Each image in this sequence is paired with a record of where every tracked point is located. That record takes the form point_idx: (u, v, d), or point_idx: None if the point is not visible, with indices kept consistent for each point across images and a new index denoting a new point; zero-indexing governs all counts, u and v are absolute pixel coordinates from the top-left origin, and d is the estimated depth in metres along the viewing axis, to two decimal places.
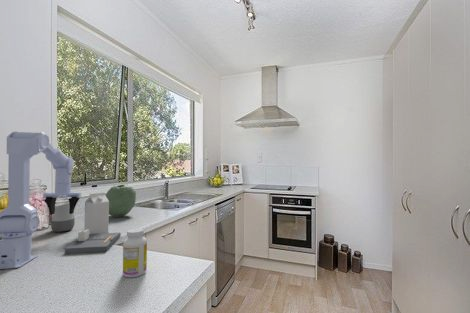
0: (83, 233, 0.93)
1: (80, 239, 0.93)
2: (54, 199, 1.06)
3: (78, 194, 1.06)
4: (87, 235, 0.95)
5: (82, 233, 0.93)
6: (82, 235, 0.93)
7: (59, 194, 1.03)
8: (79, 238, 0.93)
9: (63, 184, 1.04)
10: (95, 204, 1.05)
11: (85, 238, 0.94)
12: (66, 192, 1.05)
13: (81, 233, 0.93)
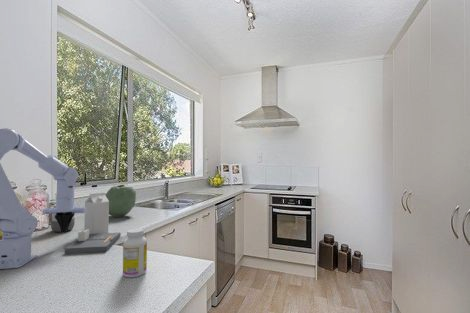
0: (83, 233, 0.93)
1: (80, 239, 0.93)
2: None
3: (83, 209, 0.94)
4: (87, 235, 0.95)
5: (82, 233, 0.93)
6: (82, 235, 0.93)
7: (61, 210, 0.91)
8: (79, 238, 0.93)
9: (65, 198, 0.91)
10: (95, 204, 1.05)
11: (85, 238, 0.94)
12: (69, 207, 0.92)
13: (81, 233, 0.93)
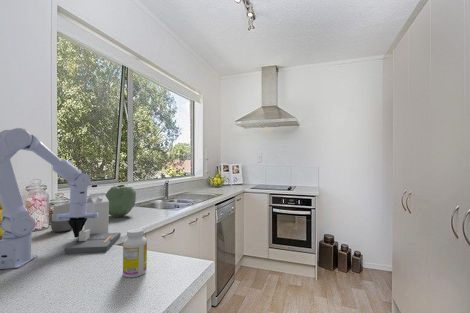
0: (84, 233, 0.93)
1: (81, 239, 0.93)
2: None
3: (95, 215, 0.95)
4: (88, 235, 0.95)
5: (83, 233, 0.93)
6: (83, 235, 0.93)
7: (75, 215, 0.92)
8: (80, 238, 0.93)
9: (78, 204, 0.92)
10: (95, 204, 1.05)
11: (86, 238, 0.94)
12: (82, 213, 0.93)
13: (82, 233, 0.93)
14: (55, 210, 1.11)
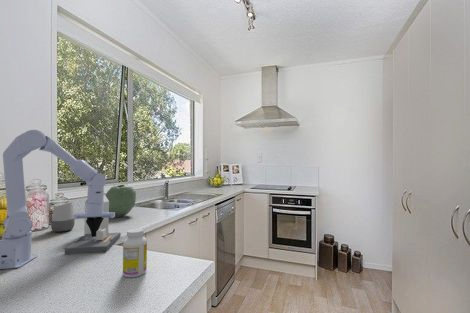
0: (101, 232, 0.94)
1: (98, 238, 0.94)
2: None
3: (112, 214, 0.96)
4: (105, 234, 0.97)
5: (100, 232, 0.94)
6: (100, 234, 0.94)
7: (92, 215, 0.93)
8: (97, 237, 0.94)
9: (96, 204, 0.94)
10: None
11: (103, 237, 0.95)
12: (99, 212, 0.95)
13: (99, 232, 0.94)
14: (55, 210, 1.11)
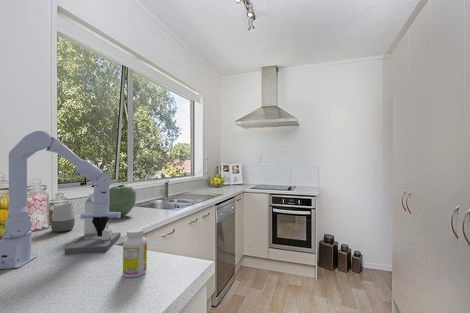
0: (107, 232, 0.95)
1: (104, 238, 0.94)
2: None
3: (118, 214, 0.96)
4: (110, 234, 0.97)
5: (106, 232, 0.94)
6: (106, 234, 0.94)
7: (98, 215, 0.93)
8: (103, 237, 0.94)
9: (102, 203, 0.94)
10: None
11: (109, 237, 0.95)
12: (105, 212, 0.95)
13: (105, 232, 0.94)
14: (55, 210, 1.11)
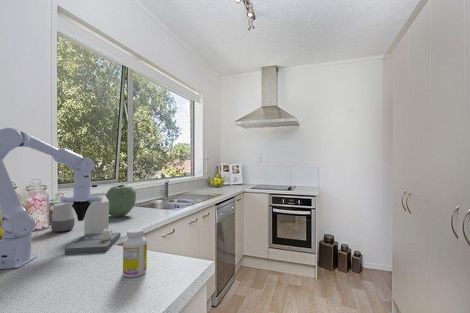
0: (107, 232, 0.95)
1: (104, 238, 0.94)
2: None
3: (99, 199, 0.96)
4: (111, 234, 0.97)
5: (106, 232, 0.94)
6: (106, 234, 0.94)
7: (78, 199, 0.93)
8: (104, 237, 0.94)
9: (82, 187, 0.93)
10: (95, 204, 1.05)
11: (109, 237, 0.95)
12: (86, 196, 0.94)
13: (105, 232, 0.94)
14: (55, 210, 1.11)
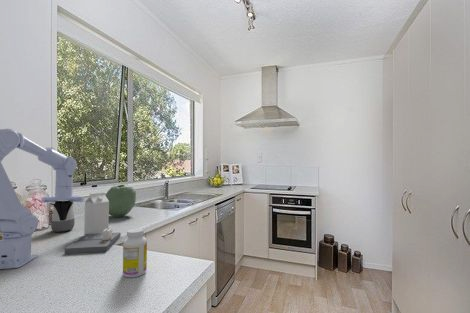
0: (107, 232, 0.95)
1: (104, 238, 0.94)
2: None
3: (81, 198, 0.96)
4: (111, 234, 0.97)
5: (106, 232, 0.94)
6: (106, 234, 0.94)
7: (60, 198, 0.93)
8: (104, 237, 0.94)
9: (64, 187, 0.93)
10: (95, 204, 1.05)
11: (109, 237, 0.95)
12: (68, 196, 0.94)
13: (105, 232, 0.94)
14: (55, 210, 1.11)
